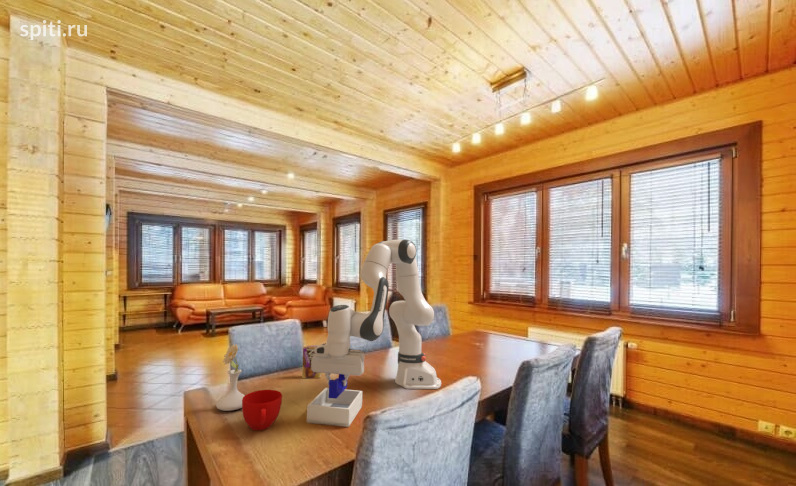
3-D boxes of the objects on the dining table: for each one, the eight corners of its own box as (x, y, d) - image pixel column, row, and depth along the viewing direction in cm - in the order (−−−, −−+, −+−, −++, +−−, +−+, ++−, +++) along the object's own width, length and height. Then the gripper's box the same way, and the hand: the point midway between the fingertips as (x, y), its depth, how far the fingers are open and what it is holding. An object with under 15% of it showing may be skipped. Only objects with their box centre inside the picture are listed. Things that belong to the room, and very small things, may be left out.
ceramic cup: (239, 444, 104) (241, 411, 105) (241, 420, 120) (242, 392, 120) (283, 436, 109) (284, 405, 110) (279, 415, 125) (280, 387, 126)
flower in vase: (217, 403, 133) (221, 340, 135) (248, 399, 138) (252, 338, 140) (213, 417, 121) (218, 347, 123) (248, 413, 126) (251, 345, 128)
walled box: (361, 406, 134) (362, 390, 135) (348, 426, 117) (349, 409, 118) (325, 402, 137) (325, 387, 137) (306, 422, 120) (307, 405, 120)
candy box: (320, 375, 170) (322, 344, 171) (320, 378, 166) (321, 346, 167) (302, 375, 169) (304, 345, 170) (301, 378, 165) (303, 347, 166)
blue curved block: (336, 385, 134) (336, 370, 135) (347, 386, 133) (347, 371, 134) (324, 397, 122) (325, 380, 123) (336, 398, 122) (336, 381, 122)
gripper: (366, 348, 130) (365, 384, 129) (316, 344, 133) (315, 380, 132) (362, 352, 124) (361, 390, 123) (310, 348, 127) (308, 385, 126)
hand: (337, 385), depth 128 cm, fingers closed on blue curved block, 4 cm apart
